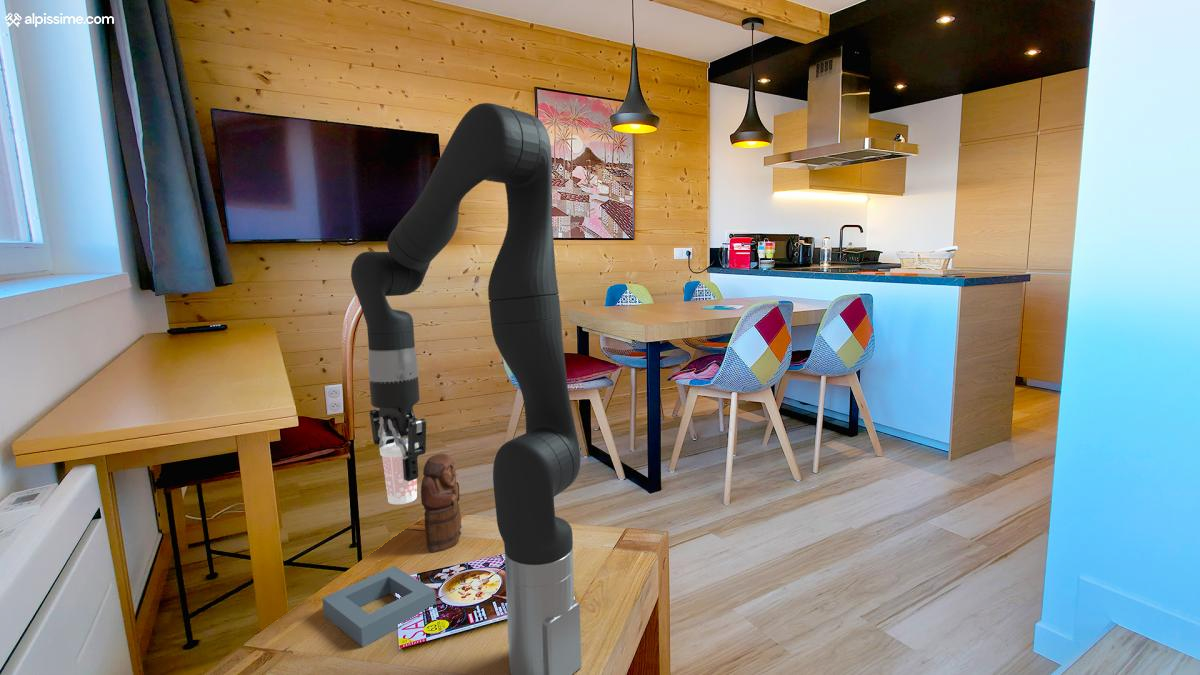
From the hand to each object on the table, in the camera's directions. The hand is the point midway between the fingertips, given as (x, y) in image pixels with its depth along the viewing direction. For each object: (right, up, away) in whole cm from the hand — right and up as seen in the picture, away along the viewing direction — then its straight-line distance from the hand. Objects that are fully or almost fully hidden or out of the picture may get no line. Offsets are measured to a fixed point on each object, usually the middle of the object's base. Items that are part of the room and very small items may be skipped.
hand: (400, 474), depth 94 cm
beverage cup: (0, -4, +1) cm, 4 cm away
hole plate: (-3, -22, -2) cm, 22 cm away
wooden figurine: (+1, -19, +23) cm, 30 cm away
